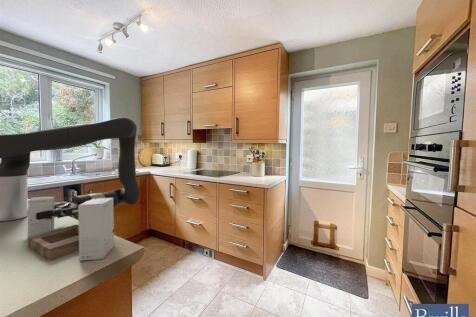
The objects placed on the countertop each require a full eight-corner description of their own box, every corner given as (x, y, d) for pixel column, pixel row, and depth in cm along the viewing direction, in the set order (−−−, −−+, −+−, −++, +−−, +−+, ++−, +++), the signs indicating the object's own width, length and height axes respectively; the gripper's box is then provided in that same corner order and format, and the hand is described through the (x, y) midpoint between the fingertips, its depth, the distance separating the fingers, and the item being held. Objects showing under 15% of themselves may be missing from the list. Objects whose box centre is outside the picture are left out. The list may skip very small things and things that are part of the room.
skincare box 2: (103, 259, 54) (103, 203, 54) (77, 261, 53) (76, 204, 52) (114, 245, 62) (115, 196, 62) (92, 246, 61) (92, 197, 61)
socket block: (28, 247, 60) (27, 237, 60) (76, 233, 70) (76, 224, 70) (49, 260, 53) (49, 249, 53) (99, 242, 64) (99, 233, 64)
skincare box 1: (27, 237, 66) (26, 200, 65) (31, 232, 69) (30, 197, 69) (52, 234, 69) (52, 198, 69) (55, 229, 73) (54, 195, 72)
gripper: (79, 192, 85) (23, 200, 70) (99, 196, 78) (41, 206, 63) (79, 210, 85) (23, 221, 70) (99, 216, 78) (41, 230, 64)
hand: (32, 214), depth 67 cm, fingers closed on skincare box 1, 6 cm apart
